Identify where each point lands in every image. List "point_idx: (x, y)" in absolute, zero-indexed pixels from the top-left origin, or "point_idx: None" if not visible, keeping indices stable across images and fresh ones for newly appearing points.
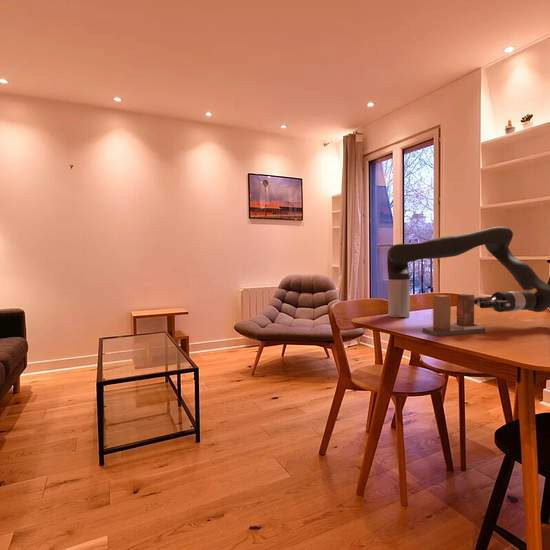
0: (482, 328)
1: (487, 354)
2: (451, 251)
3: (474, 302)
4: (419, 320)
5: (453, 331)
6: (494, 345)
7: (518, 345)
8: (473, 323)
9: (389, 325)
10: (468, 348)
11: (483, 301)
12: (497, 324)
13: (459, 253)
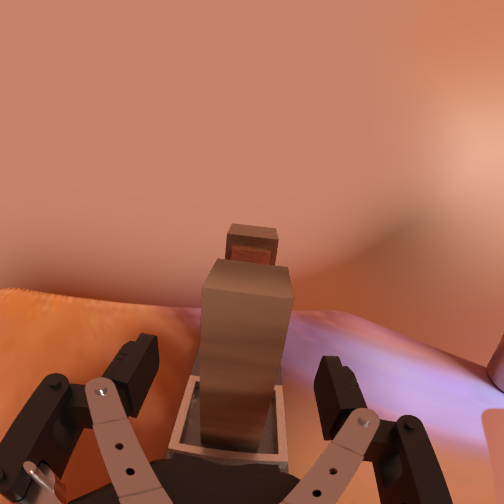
0: (168, 456)
1: (61, 295)
2: None
3: (393, 486)
4: (467, 406)
5: (197, 353)
6: (63, 345)
7: (16, 373)
8: (200, 425)
9: (379, 327)
10: (99, 304)
11: (255, 471)
12: None
13: None
